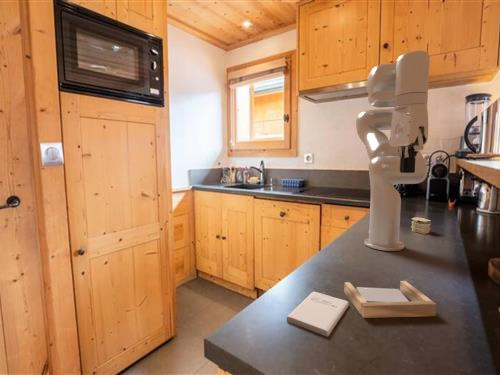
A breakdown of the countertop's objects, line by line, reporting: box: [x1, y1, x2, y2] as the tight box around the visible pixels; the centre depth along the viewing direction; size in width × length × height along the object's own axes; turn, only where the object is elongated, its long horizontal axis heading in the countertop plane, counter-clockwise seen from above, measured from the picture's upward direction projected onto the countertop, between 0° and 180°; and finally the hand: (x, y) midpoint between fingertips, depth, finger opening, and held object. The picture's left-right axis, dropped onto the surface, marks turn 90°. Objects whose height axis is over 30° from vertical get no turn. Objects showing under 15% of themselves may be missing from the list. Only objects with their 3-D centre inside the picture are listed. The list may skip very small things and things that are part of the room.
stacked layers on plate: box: [410, 216, 432, 235], centre depth 114 cm, size 10×9×6 cm
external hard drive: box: [286, 291, 350, 337], centre depth 55 cm, size 2×8×12 cm
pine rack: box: [343, 280, 437, 319], centre depth 58 cm, size 10×14×2 cm
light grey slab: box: [355, 286, 409, 303], centre depth 58 cm, size 6×9×2 cm, turn 82°
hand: (407, 172), depth 73 cm, fingers closed
